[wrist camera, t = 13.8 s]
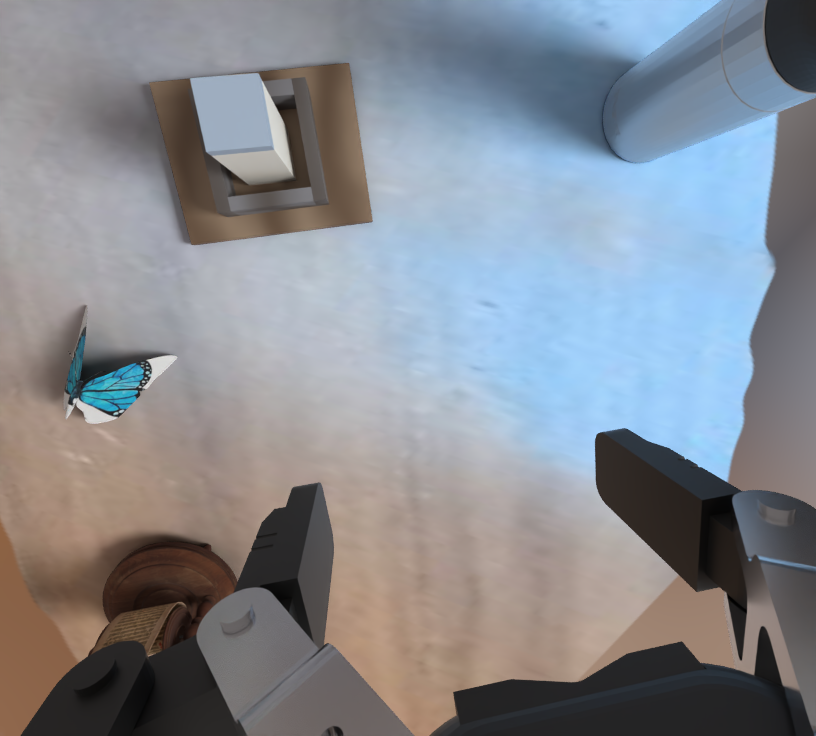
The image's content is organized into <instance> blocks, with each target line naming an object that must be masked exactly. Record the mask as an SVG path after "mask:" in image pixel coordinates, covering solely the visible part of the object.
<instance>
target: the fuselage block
mask: <svg viewBox="0 0 816 736" xmlns="http://www.w3.org/2000/svg"><path fill="white" fill-rule="evenodd" d="M190 81H191V86H192V90H193V95H194V99H195V104H196V108H197V113H198V117H199V122H200V126H201V131H202V135H203V140H204V144H205V149H206V152H207V153H208V154H210V155H211V156H212V157H214V158H215V159H216V160H217V161H219V162H220V163H221V164H223V165H224V166H225V167H226V168H228V169H229V170H230V171H232V172H233V173H234V174H236V175H237V176H238V177H239V178H241V179H242V180H243V181H245V182H246V183H247V184H248V185H259V184H269V183H278V182H288V181H296V175H295V169H294V163H293V158H292V152H291V146H290V140H289V134H288V129H287V127H286V125H285V124H284V122H283V120H282V118H281V116H280V114H279V112H278V110H277V108H276V106H275V104H274V102H273V101H272V99H271V97H270V95H269V93H268V91H267V89H266V87H265V85H264V83H263V81H262V79H261V78H260V76H259V74H258V73H251V74H238V75H225V76H212V77H199V78H190Z"/></svg>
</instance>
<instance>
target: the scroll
mask: <svg viewBox="0 0 816 736" xmlns="http://www.w3.org/2000/svg"><path fill="white" fill-rule="evenodd" d="M237 583H238V582H237V579H236V577H235V575H234V573H233V571H232V570H231V568H230V567H229V566H228V565H227V564H226V563H225V562H224V561H223V560H222V559H221V558H220V557H219V556H217V555H216V554H214V553H213V552H211V545H206V546H204V547H200V546H197V545H193V544H189V543H183V542H161V543H155V544H151V545H148V546H145V547H142V548H140V549H138V550H136V551H134V552H132V553H131V554H130V555H128V556H127V557H126V558H124V559H123V560H122V561H121V562H120V563H119V564H118V566H117V567H116V568H115V569H114V571H113V572H112V573H111V575H110V576H109V578H108V580H107V582H106V584H105V587H104V591H103V607H104V611H105V614H106V617H107V619H108V621H109V622H110V624H108V625H107V626H106V627H105V629H104V630H103V631H102V633H101V634H100V636H99V638H98V640H97V642H96V645H95V647H94V648H93V649H91V651H90V652H89V655H88V656H90V655H91V654H93V653H94V652H96V651H98V650H100V649H102V648H104V647H106V646H109V645H111V644H114V643H117V642H121V641H128V640H133V641H138V642H140V643H141V644H142V645H143V646H144V648H145V650H146V653H147V655H150V654H155V653H158V652H160V651H163V650H165V649H167V648H169V647H171V646H174V645H176V644H178V643H180V642H182V641H185V640H187V639H189V638H191V637H193V636H194V635H196V634H197V630H198V627H199V625H200V623H201V621H202V619H203V618H204V616H205V615H206V614H207V613H208V612H209V611H210V609H211V608H212V607H213V606H215V605H216V604H217V603H218V602H220V601H221V600H222V599H224V598H225V597H227V596H229V595H231V594H233V592H234V590H235V588H236V585H237Z"/></svg>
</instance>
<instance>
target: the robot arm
mask: <svg viewBox="0 0 816 736" xmlns="http://www.w3.org/2000/svg"><path fill="white" fill-rule="evenodd" d="M813 98H816V0H721V1H720V2H719V3H717V4H716V5H715V6H713V7H712V8H711V9H709V10H708V11H707V12H705V13H704V14H703V15H701V16H700V17H699V18H697V19H696V20H695V21H693V22H692V23H691V24H689V25H688V26H687V27H686V28H684V29H683V30H682V31H680V32H679V33H678V34H676V35H675V36H674V37H672V38H671V39H670V40H668V41H667V42H666V43H664V44H663V45H662V46H660V47H659V48H658V49H656V50H655V51H654V52H652V53H651V54H650V55H648V56H647V57H646V58H644V59H643V60H642V61H640V62H639V63H638V64H636V65H635V66H634V67H632V68H631V69H630V70H628V71H627V72H626V73H625V74H623V75H622V76H621V77H620V78H619V79H618V80H617V81H616V83H615V84H614V86H613V87H612V88H611V90H610V92H609V94H608V97H607V99H606V102H605V106H604V111H603V127H604V133H605V136H606V139H607V141H608V143H609V145H610V147H611V148H612V149H613V151H614V152H615V153H616V154H617V155H618V156H620V157H621V158H623V159H624V160H627V161H630V162H634V163H644V162H649V161H652V160H654V159H657V158H660V157H662V156H665V155H668V154H670V153H673V152H676V151H679V150H681V149H684V148H687V147H689V146H692V145H694V144H697V143H700V142H702V141H705V140H707V139H710V138H712V137H715V136H718V135H720V134H723V133H725V132H728V131H731V130H733V129H736V128H738V127H741V126H744V125H746V124H749V123H751V122H754V121H757V120H759V119H762V118H764V117H767V116H770V115H772V114H775V113H777V112H780V111H783V110H785V109H787V108H790V107H792V106H795V105H797V104H800V103H803V102H805V101H808V100H810V99H813ZM595 462H596V485H597V489H598V492H599V494H600V496H601V498H602V500H603V501H604V502H605V504H606V505H607V506H608V507H609V508H611V509H612V510H613V511H614V512H615V513H616V514H617V515H618V516H619V517H620V518H621V519H622V520H623V521H624V522H625V523H626V524H627V525H628V526H629V527H630V528H631V529H632V530H633V531H634V532H635V533H636V534H637V535H638V536H639V537H640V538H641V539H642V540H644V541H645V542H646V543H647V544H648V545H649V546H650V547H651V548H652V549H653V550H654V551H655V552H656V553H657V554H658V555H659V556H660V557H661V558H662V559H663V560H664V561H665V562H666V563H667V564H668V565H669V566H670V567H671V568H672V569H673V570H674V571H675V572H677V573H678V574H679V575H680V576H681V577H682V578H683V579H684V580H685V581H686V582H687V583H688V584H689V585H690V586H691V587H692V588H693V589H694V590H695V591H696V592H699V591H704V590H709V589H713V588H718V587H720V588H721V589H722V590H724V591H725V595H724V608H725V614H726V619H727V626H728V631H729V637H730V643H731V648H732V653H733V659H734V665H735V669H732V668H728V667H724V666H718V665H712V664H705V663H700V662H699V661H698V660H697V659H696V658H695V656H694V655H693V654H692V653H691V652H690V650H689V649H688V648H687V647H686V646H685V645H684V643H683V642H678V643H673V644H668V645H664V646H659V647H655V648H650V649H646V650H641V651H637V652H633V653H628V654H626V655H624V656H623V657H621V658H619V659H618V660H616V661H614V662H613V663H611V664H609V665H607V666H606V667H604V668H603V669H601V670H599V671H597V672H596V673H594V674H592V675H591V676H589V677H587V678H586V679H584V680H582V681H579V682H554V681H534V680H515V679H510V680H506V681H501V682H497V683H492V684H488V685H483V686H479V687H474V688H470V689H465V690H461V691H456V692H453V694H454V700H455V707H456V714H457V716H455V717H453V718H452V719H450V720H448V721H447V722H445V723H444V724H443V725H441V726H440V727H439V728H438V729H436V730H435V731H434V732H433V733H432V734H431V735H430V736H816V509H815V508H814V507H812V506H811V505H809V504H807V503H805V502H803V501H801V500H799V499H796V498H793V497H791V496H787V495H784V494H780V493H776V492H770V491H762V490H748V491H741V490H739V489H738V488H736V487H734V486H732V485H731V484H729V483H727V482H726V481H724V480H722V479H720V478H719V477H717V476H715V475H714V474H712V473H710V472H708V471H707V470H705V469H703V468H702V467H698V465H697V464H695V463H693V462H691V461H690V460H688V459H686V460H685V458H684V457H683V456H681V455H679V454H678V453H676V452H674V451H673V450H671V449H669V448H667V447H664V446H661V445H657V444H654V443H651V442H648V441H646V440H645V439H643V438H641V437H640V436H638V435H636V434H635V433H633V432H632V431H630V430H628V429H625V428H623V429H617V430H612V431H606V432H601V433H598V434H597V436H596V439H595ZM251 549H252V551H251V552H250V553H249V556H248V558H247V561H246V563H245V565H244V568H243V570H242V573H241V575H240V578H239V580H238V583H237V585H236V588H235V590H234V592H233V594H231V595H229V596H227V597H225V598H224V599H222V600H221V601H220V602H218V603H217V604H216V605H215V606H213V607H212V608H211V609H210V611H209V612H208V613H207V614H206V615H205V616H204V618H203V619H202V621H201V623H200V625H199V627H198V630H197V634H196V635H194V636H193V637H191V638H189V639H187V640H185V641H182V642H180V643H178V644H176V645H174V646H171V647H169V648H167V649H165V650H163V651H160V652H158V653H156V654H154V655H152V656H149V657H148V655H147V653H146V650H145V648H144V646H143V645H142V644H141V643H140V642H138V641H133V640H128V641H121V642H117V643H114V644H111V645H109V646H106V647H104V648H102V649H100V650H98V651H96V652H94V653H93V654H91V655H90V656H88V657H86V658H85V659H84V660H82V661H81V662H79V663H78V664H77V665H76V666H75V667H73V668H72V669H71V670H70V671H69V672H68V673H67V674H66V675H65V676H64V677H63V678H62V679H61V680H60V681H59V682H58V683H57V684H56V686H55V687H54V688H53V690H52V691H51V692H50V694H49V695H48V697H47V698H46V700H45V701H44V702H43V704H42V705H41V707H40V708H39V710H38V711H37V713H36V714H35V715H34V717H33V718H32V720H31V721H30V723H29V724H28V726H27V727H26V729H25V730H24V731H23V733H22V734H21V736H414V735H413V734H412V732H411V731H410V730H409V729H408V728H407V727H406V726H405V725H404V724H403V722H402V721H401V720H400V719H399V718H398V717H397V716H396V715H395V714H394V712H393V711H392V710H391V709H390V708H389V707H388V706H387V705H386V703H385V702H384V701H383V700H382V699H381V698H380V697H379V696H378V695H377V693H376V692H375V691H374V690H373V689H372V688H371V687H370V686H369V684H368V683H367V682H366V681H365V680H364V679H363V678H362V677H361V676H360V674H359V673H358V672H357V671H356V670H355V669H354V668H353V667H352V665H351V664H350V663H349V662H348V661H347V660H346V659H345V658H344V657H343V655H342V654H341V653H340V652H339V651H338V650H337V649H336V648H335V647H334V646H333V645H331V644H329V643H327V644H325V645H324V638H325V629H326V620H327V610H328V601H329V592H330V583H331V574H332V565H333V556H334V543H333V534H332V529H331V524H330V519H329V515H328V510H327V506H326V501H325V497H324V492H323V488H322V485H321V483H314V484H308V485H302V486H297V487H293V488H292V490H291V493H290V496H289V499H288V502H287V505H286V507H283V508H278V509H274V510H273V511H272V512H271V514H270V515H269V516H268V517H267V518H266V519H265V520H264V521H263V522H262V524H261V526H260V529H259V531H258V534H257V536H256V539H255V541H254V543H253V546H252V548H251Z"/></svg>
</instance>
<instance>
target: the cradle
mask: <svg viewBox="0 0 816 736" xmlns="http://www.w3.org/2000/svg"><path fill="white" fill-rule="evenodd" d="M252 73H258V74H259V76H260V78H261V79H262V81H263V83H264V85H265V87H266V89H267V91H268V93H269V95H270V97H271V99H272V101H273V102H274V104H275V106H276V108H277V110H278V112H279V114H280V116H281V118H282V120H283V122H284V124H285V125H286V127H287V129H288V134H289V140H290V146H291V152H292V158H293V163H294V169H295V175H296V181H288V182H278V183H269V184H259V185H248V184H247V183H246V182H245V181H243V180H242V179H241V178H239V177H238V176H237V175H236V174H234V173H233V172H232V171H230V170H229V169H228V168H226V167H225V166H224V165H223V164H221V163H220V162H219V161H217V160H216V159H215V158H214V157H212V156H211V155H210V154H208V153H207V152H206V149H205V144H204V140H203V135H202V131H201V126H200V122H199V117H198V113H197V108H196V104H195V99H194V95H193V90H192V86H191V81H190V79H181V80H171V81H161V82H151V83H149V84H150V88H151V91H152V95H153V99H154V103H155V107H156V110H157V114H158V118H159V122H160V126H161V130H162V133H163V137H164V141H165V145H166V149H167V153H168V156H169V160H170V164H171V168H172V172H173V176H174V179H175V183H176V187H177V191H178V195H179V199H180V202H181V206H182V210H183V214H184V218H185V222H186V225H187V229H188V233H189V237H190V241H191V244H192V245H201V244H208V243H216V242H224V241H231V240H239V239H247V238H254V237H262V236H270V235H277V234H285V233H293V232H300V231H308V230H316V229H323V228H331V227H339V226H346V225H354V224H362V223H369V222H372V214H371V207H370V201H369V194H368V187H367V180H366V174H365V167H364V160H363V154H362V147H361V140H360V133H359V127H358V120H357V113H356V106H355V100H354V93H353V86H352V80H351V73H350V66H349V63H343V64H333V65H323V66H313V67H303V68H292V69H282V70H272V71H262V72H252ZM242 74H251V73H242ZM232 75H238V74H232ZM222 76H225V75H222ZM211 77H212V76H211Z"/></svg>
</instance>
